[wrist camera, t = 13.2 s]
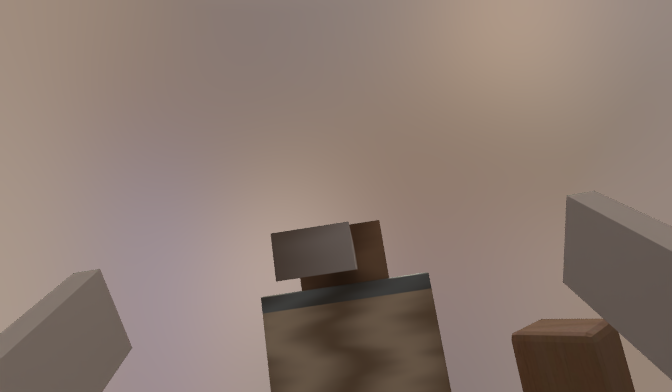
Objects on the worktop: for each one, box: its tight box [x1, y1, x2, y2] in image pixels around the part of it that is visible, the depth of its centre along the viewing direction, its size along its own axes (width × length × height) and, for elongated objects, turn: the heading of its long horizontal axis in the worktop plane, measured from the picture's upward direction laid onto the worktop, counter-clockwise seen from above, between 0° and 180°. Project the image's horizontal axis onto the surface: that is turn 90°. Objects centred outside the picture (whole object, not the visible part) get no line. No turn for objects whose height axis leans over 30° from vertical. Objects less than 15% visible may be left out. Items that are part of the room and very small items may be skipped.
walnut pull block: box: [271, 220, 389, 291], centre depth 21 cm, size 6×24×5 cm, turn 176°
